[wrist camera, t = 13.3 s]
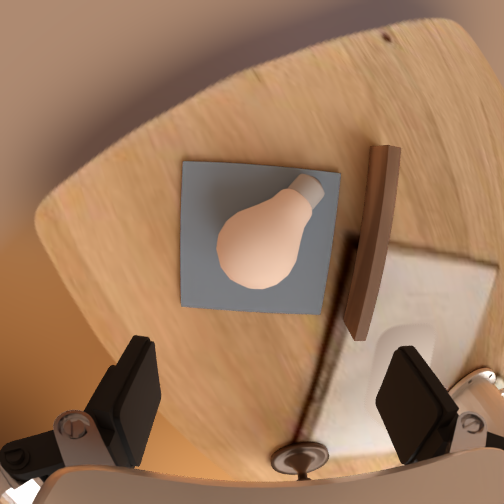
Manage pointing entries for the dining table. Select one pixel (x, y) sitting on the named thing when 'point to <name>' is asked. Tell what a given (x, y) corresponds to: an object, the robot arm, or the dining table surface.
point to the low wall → (373, 238)
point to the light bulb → (268, 235)
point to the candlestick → (299, 459)
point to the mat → (227, 205)
